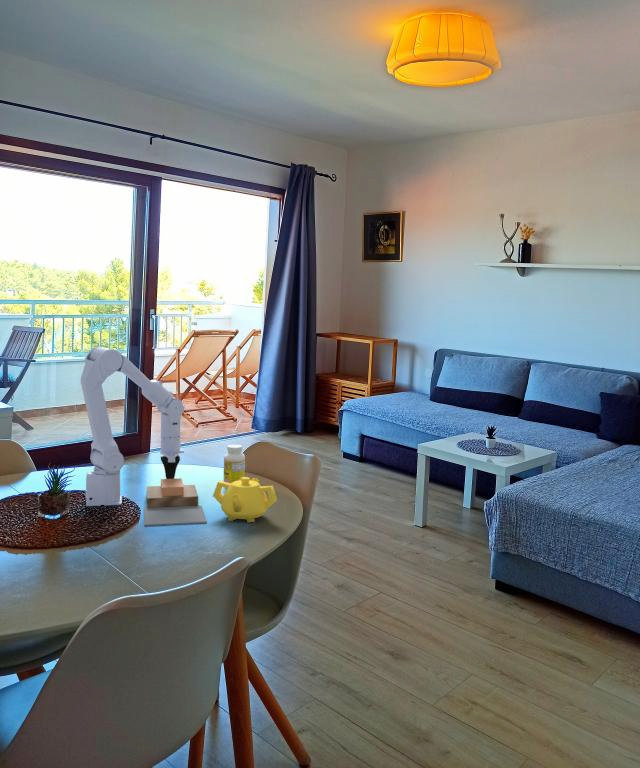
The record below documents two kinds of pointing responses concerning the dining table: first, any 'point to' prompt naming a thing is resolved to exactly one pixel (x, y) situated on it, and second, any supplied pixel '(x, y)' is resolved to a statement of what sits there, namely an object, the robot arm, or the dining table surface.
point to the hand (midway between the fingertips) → (170, 480)
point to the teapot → (244, 498)
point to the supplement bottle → (234, 464)
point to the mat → (174, 515)
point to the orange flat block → (172, 487)
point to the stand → (171, 497)
